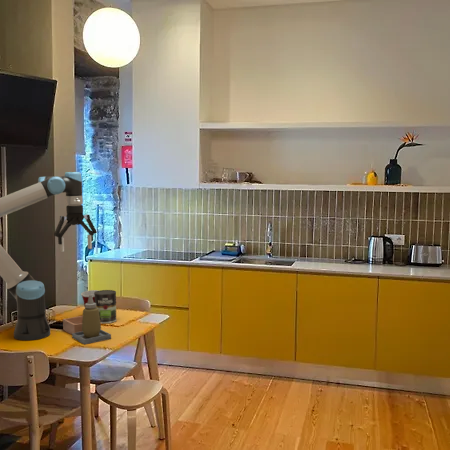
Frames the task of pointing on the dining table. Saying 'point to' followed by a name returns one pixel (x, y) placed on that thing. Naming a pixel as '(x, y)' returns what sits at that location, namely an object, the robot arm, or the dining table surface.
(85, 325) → the squeeze bottle
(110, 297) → the coffee can
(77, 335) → the tray
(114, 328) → the dining table surface
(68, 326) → the box
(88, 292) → the plastic cup
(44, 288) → the robot arm
